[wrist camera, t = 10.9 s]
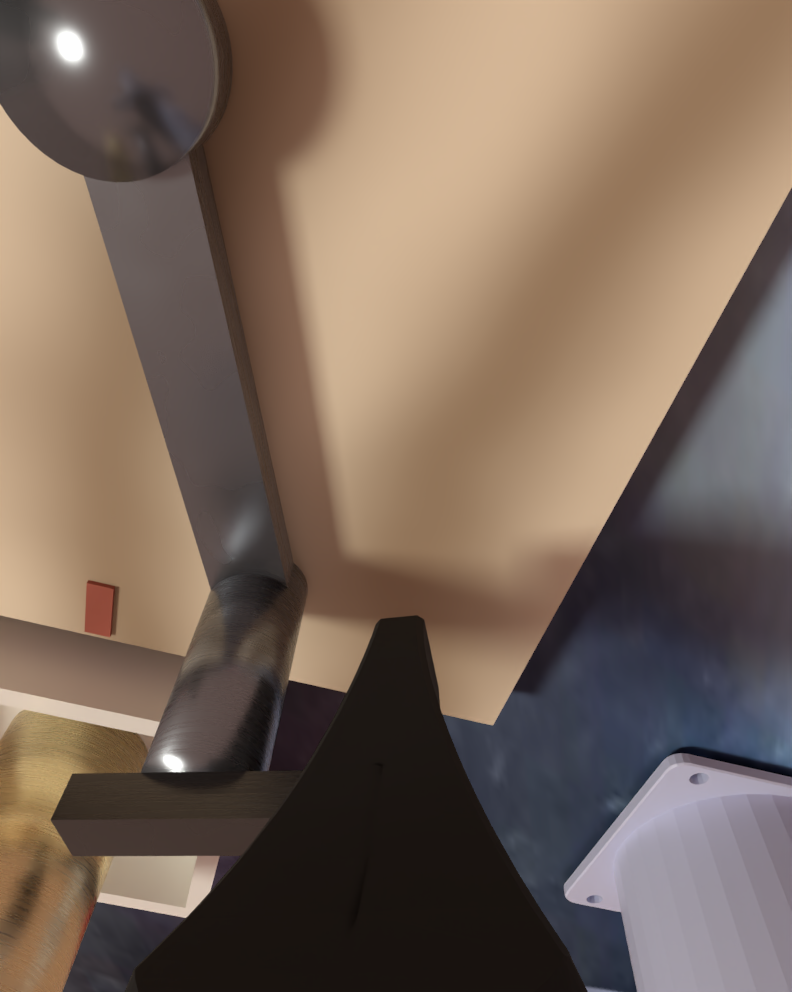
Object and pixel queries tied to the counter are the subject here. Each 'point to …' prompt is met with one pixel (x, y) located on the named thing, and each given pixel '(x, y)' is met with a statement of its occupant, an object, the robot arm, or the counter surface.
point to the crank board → (403, 314)
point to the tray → (111, 703)
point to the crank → (174, 401)
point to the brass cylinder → (49, 844)
